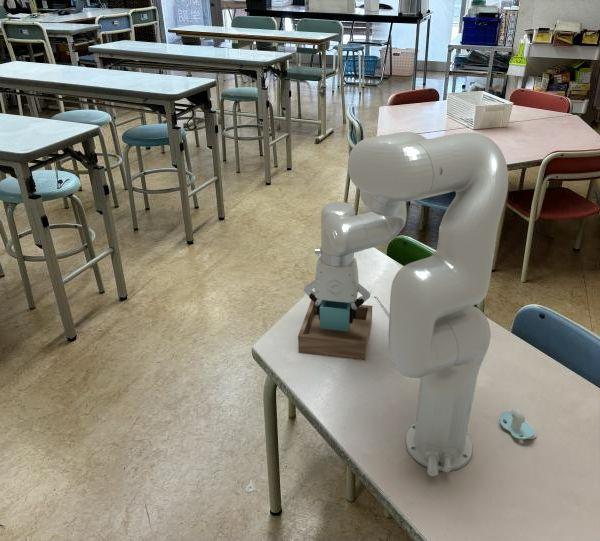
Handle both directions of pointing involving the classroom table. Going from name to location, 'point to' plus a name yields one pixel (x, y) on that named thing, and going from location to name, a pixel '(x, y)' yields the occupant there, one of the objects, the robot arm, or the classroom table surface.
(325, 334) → the big crate
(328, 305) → the small crate
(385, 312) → the magic wand
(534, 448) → the classroom table surface
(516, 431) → the pacifier
